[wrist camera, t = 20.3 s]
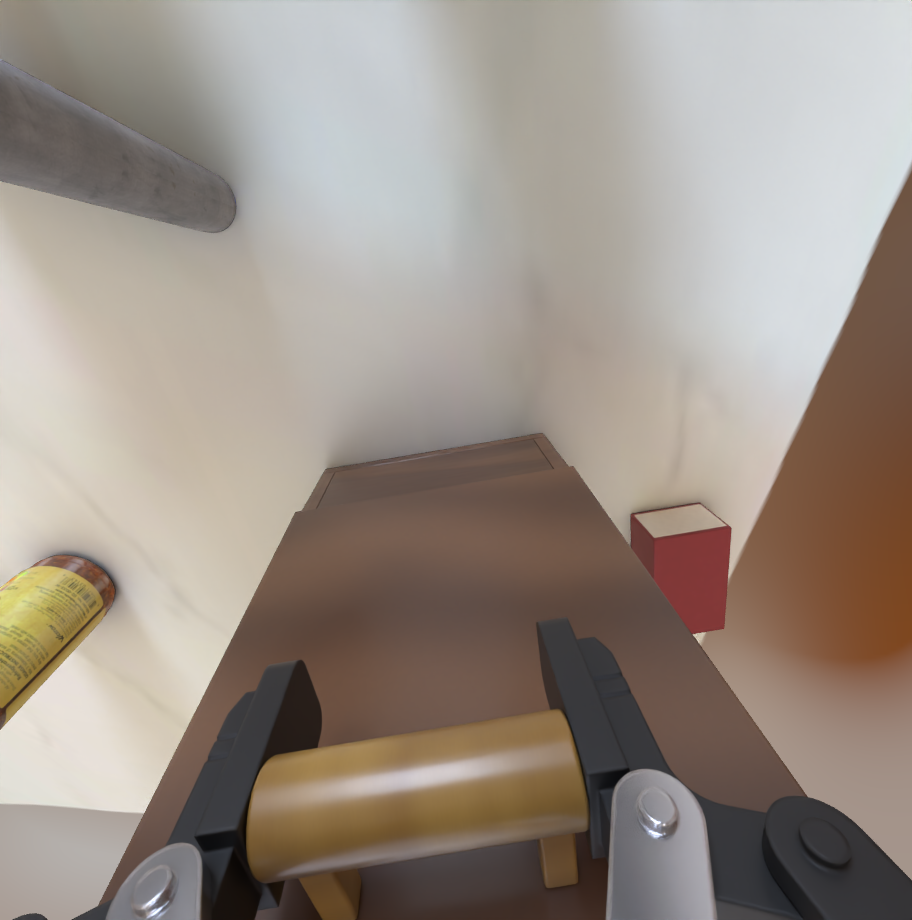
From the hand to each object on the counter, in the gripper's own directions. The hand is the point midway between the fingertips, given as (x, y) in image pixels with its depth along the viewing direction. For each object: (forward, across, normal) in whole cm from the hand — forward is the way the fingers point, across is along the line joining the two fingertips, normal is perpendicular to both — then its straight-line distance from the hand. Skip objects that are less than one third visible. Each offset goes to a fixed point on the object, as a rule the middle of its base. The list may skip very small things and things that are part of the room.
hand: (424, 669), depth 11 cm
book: (+22, -17, +15) cm, 32 cm away
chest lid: (+5, 0, +3) cm, 6 cm away
